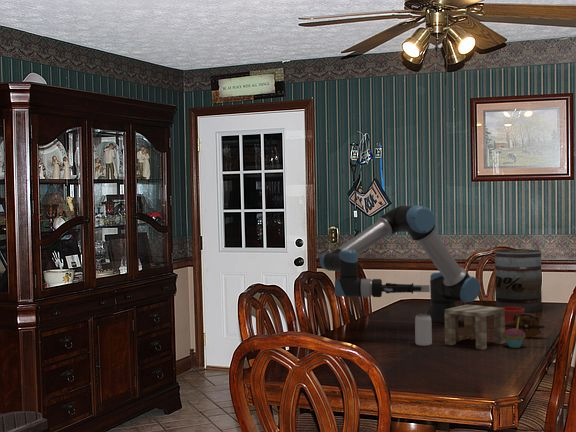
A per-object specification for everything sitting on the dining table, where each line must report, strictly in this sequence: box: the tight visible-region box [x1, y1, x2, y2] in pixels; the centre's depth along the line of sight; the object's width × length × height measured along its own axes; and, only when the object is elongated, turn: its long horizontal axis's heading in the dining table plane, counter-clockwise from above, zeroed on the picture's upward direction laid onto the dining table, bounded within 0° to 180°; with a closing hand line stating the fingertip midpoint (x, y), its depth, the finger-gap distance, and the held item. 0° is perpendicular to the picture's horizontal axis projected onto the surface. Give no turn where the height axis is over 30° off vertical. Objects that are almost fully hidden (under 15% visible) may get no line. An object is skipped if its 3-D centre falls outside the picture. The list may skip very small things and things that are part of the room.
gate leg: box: [455, 314, 476, 343], centre depth 321 cm, size 13×4×12 cm, turn 131°
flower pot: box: [500, 307, 524, 331], centre depth 342 cm, size 11×11×10 cm
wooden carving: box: [505, 313, 546, 338], centre depth 325 cm, size 16×5×10 cm, turn 70°
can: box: [414, 313, 433, 347], centre depth 315 cm, size 6×6×12 cm
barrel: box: [494, 248, 543, 314], centre depth 399 cm, size 22×22×30 cm
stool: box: [444, 304, 506, 350], centre depth 314 cm, size 17×17×14 cm
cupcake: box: [503, 316, 526, 349], centre depth 307 cm, size 9×8×12 cm
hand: (429, 288), depth 322 cm, fingers closed
